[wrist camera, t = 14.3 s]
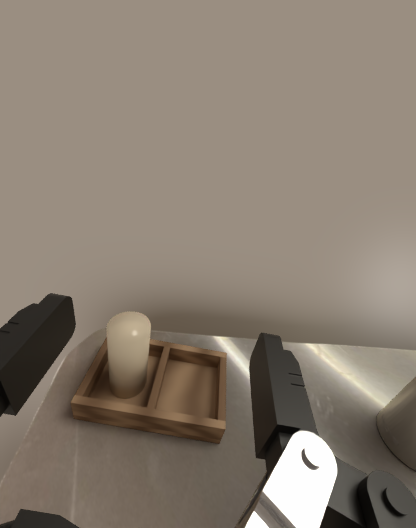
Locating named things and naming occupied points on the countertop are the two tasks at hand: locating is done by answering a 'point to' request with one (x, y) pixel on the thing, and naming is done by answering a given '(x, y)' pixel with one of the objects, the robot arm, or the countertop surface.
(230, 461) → the countertop surface
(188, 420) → the wooden divided tray
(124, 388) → the cream pillar candle
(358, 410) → the countertop surface
